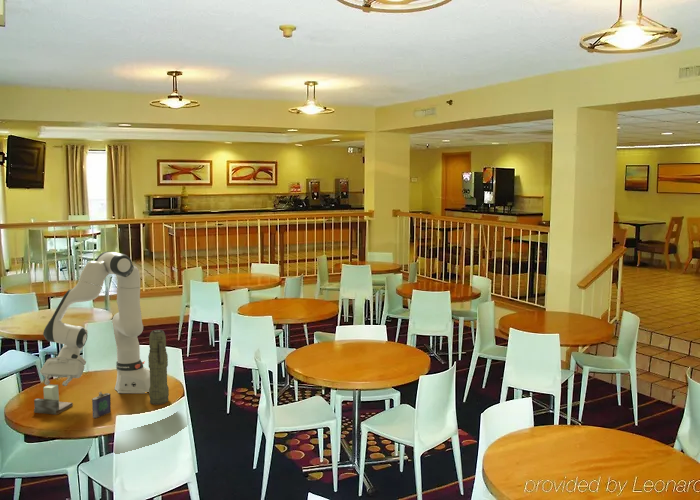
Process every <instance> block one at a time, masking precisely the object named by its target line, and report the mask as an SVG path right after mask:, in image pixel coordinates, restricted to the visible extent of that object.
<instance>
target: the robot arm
mask: <svg viewBox="0 0 700 500" xmlns="http://www.w3.org/2000/svg"><path fill="white" fill-rule="evenodd" d="M108 275H115V276H116V278H117V283H116V284H117V286H116V289H117V290H116V304H117V309H118V312H116V313H114V315H113V316H112V321H111V322H112V323H111V324H112V327H113V328H112V329H113V334H114V340H115V346H116V362H115V365H116V367H115V368H116V380H115V381H116V382H115V386H114V390H115V391H116V392H117V394H146V393H145V392H149V388H150V370H149V369H147V368H145V367H144V364H145V363H146V361H145V360H144V361H142V360H141V352H140V349H141V348H140V343H139V339H138V336H140V335H142V332H143V330H144V323H143V319H142V318H143V317H142V310H141V309H142V308H141V275H140V270H139V268H138V267H137V266H136V265H134V264H133V261H132V259H131V258H130V257H129V256H128V255H127V254H125V253H120V252H117V251H103V252H102V253H100V254H99V255H98V256H97V257H96V258H95V260H91V261H88V262H87V263H86V264H85V266H84V267H83V269H82V271H81V273H80V276H79V279H78V282H77V283H76V284H75V286H74V287H73V288H70V289H68V290H67V291H65V294H64V295H63V297H62V298H61V300H60V301H59V304H58V306H57V307H56V309H55V311H54V313H53V314H52V316H51V318H50V319H49V321H48V322H47V324H46V326H45V327H44V329H43V332H42V335H43V336H44V338H45V340H46V341H47V342H51V343H57V344H60V345H63V346H62V348H61V349H60V351H59V353H58V355H57V357H54V356H53V357H49V358H47V359H46V361H45V363H43V366H42V367H41V369H40V370H39V372H40V375H42V376H43V377H44V379H45V380H44V385H45V386H47V385H49V384H51V381H50V379H51V378H52V377H53V378H66V379H65V380H63V382H62V384H61V385H62V386H64V387H67V386H68V384H69V383H70V382H71V381H72V380H73V379H80V378H82V375H83V373H84V371H85V365H86V363H87V361H86V360H85V359H84V358H83V357H82V356H80V354H81V351H82V349H84V347H85V345H86V342H87V341H88V334H89V331H88V329H86V328H85V327H84V326H82V325H74V324H69V323H65V322H63V321H62V320H63V318H64V316H65V314H66V313H67V311H68V310H69V307H70V306H71V305H73V304H75V303H84V302H86V303H87V302H92V301H94V300H95V299H97V298H98V297H99V296H100V294H101V291H102V289H103V285H104V281H105V279H106V278H107V276H108Z"/></svg>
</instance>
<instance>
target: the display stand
mask: <svg viewBox="0 0 700 500" xmlns="http://www.w3.org/2000/svg"><path fill="white" fill-rule="evenodd" d="M33 403H34V404H33V405H34V406H33V407H34V409H33V413H35V414H36V413H37V414H48V415H59V414H61V413H62V412H64V411H66V410H68V409H70V408H71V407H73V405H74V404H73V402H67V401H59V402H58V400H49V399H44V398H35V399H34V400H33Z"/></svg>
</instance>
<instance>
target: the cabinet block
mask: <svg viewBox="0 0 700 500" xmlns="http://www.w3.org/2000/svg"><path fill="white" fill-rule="evenodd" d="M43 399H49V400H58V402H60V394H59V384H51V383H49V385H45V386H43Z"/></svg>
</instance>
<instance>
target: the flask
mask: <svg viewBox="0 0 700 500" xmlns="http://www.w3.org/2000/svg"><path fill="white" fill-rule="evenodd" d="M91 400H92V401H91V403H92V405H91V406H92V419H98V418H101V417H103V416H106V415H108V414H111V413H112V412H111V411H112V409H111V406H112V405H111V404H112V403H111V393H109V392H105V393H102V391H100V392H98V396H95V397H93V398H92V399H91Z"/></svg>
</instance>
